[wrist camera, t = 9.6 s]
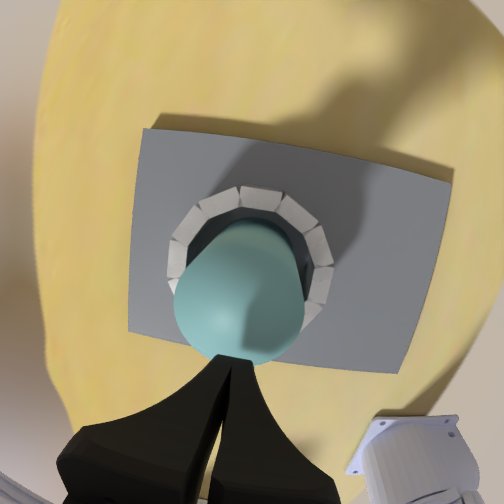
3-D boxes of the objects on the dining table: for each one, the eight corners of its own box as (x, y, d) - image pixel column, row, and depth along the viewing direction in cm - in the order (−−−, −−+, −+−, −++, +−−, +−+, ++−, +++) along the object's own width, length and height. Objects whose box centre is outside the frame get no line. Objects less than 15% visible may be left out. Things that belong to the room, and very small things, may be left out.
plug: (301, 225, 19) (317, 259, 11) (285, 302, 20) (289, 375, 13) (218, 211, 19) (179, 235, 12) (207, 289, 21) (170, 353, 13)
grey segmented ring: (335, 199, 19) (347, 204, 16) (307, 331, 21) (311, 356, 18) (192, 176, 19) (177, 177, 16) (178, 308, 21) (163, 329, 18)
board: (444, 183, 19) (451, 184, 18) (393, 366, 22) (397, 373, 21) (149, 130, 19) (143, 128, 18) (133, 325, 23) (128, 331, 22)
